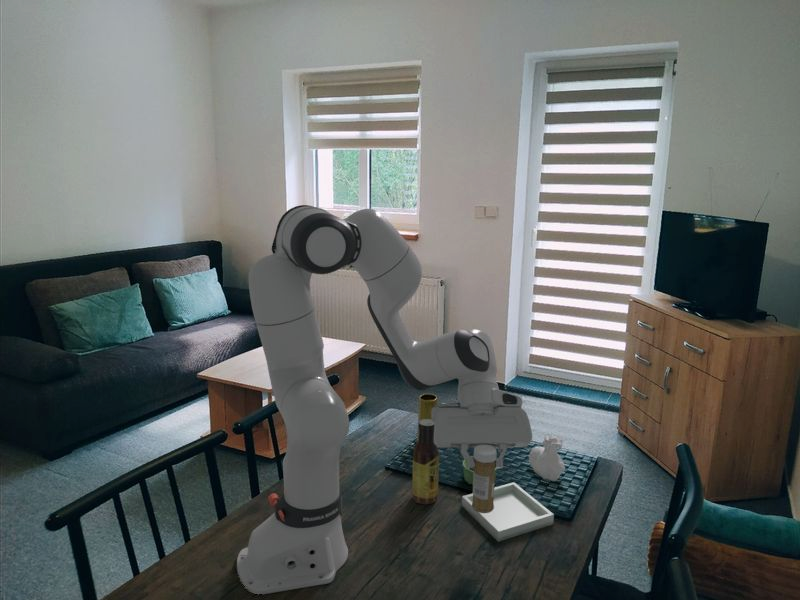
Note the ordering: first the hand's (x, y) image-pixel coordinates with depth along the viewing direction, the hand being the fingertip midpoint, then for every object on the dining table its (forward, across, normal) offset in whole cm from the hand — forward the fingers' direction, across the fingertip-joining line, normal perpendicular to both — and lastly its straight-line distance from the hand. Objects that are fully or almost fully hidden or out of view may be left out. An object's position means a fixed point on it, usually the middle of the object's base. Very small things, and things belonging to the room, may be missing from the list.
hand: (485, 467), depth 120 cm
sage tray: (+4, +8, +24) cm, 26 cm away
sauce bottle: (-1, -10, +30) cm, 31 cm away
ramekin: (-7, +5, +36) cm, 37 cm away
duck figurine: (-9, +23, +37) cm, 45 cm away
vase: (-21, -7, +50) cm, 54 cm away
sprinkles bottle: (+6, 0, +8) cm, 10 cm away
